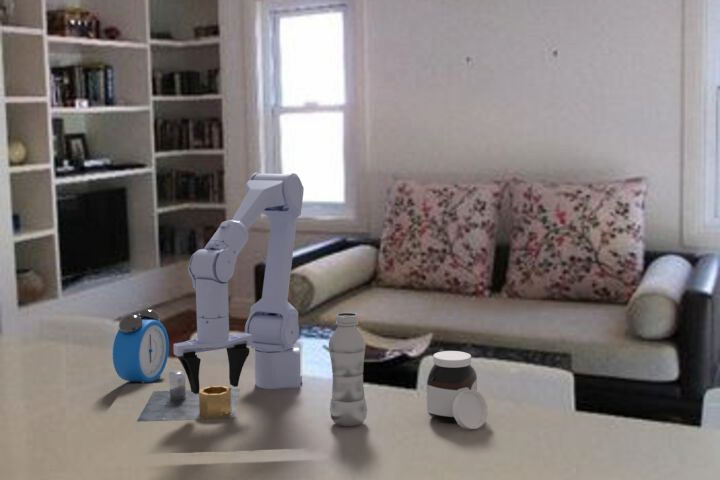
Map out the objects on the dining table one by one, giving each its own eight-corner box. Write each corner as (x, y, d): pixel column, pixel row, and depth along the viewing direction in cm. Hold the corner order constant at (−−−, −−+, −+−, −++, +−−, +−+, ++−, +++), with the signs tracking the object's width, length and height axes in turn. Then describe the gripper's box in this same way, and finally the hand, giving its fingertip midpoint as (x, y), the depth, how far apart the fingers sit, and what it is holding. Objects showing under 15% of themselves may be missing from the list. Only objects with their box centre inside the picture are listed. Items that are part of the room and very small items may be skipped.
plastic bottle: (363, 431, 151) (362, 319, 149) (325, 429, 153) (324, 317, 150) (370, 419, 158) (369, 311, 155) (334, 417, 159) (332, 310, 157)
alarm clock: (138, 390, 177) (135, 318, 175) (112, 388, 179) (108, 317, 177) (171, 374, 189) (168, 306, 187) (146, 371, 191) (143, 305, 189)
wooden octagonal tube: (232, 406, 161) (231, 385, 161) (230, 415, 156) (229, 394, 155) (202, 407, 161) (201, 386, 160) (198, 417, 155) (197, 395, 155)
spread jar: (444, 406, 165) (444, 347, 163) (500, 416, 159) (501, 354, 157) (415, 425, 154) (415, 361, 153) (474, 436, 149) (474, 369, 147)
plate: (240, 396, 173) (239, 364, 172) (233, 426, 155) (232, 390, 154) (153, 398, 171) (152, 366, 171) (137, 429, 154) (135, 393, 153)
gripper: (239, 307, 163) (241, 377, 165) (166, 316, 156) (168, 390, 157) (256, 313, 158) (258, 386, 159) (181, 323, 150) (183, 399, 151)
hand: (214, 388), depth 158 cm, fingers open, 7 cm apart
